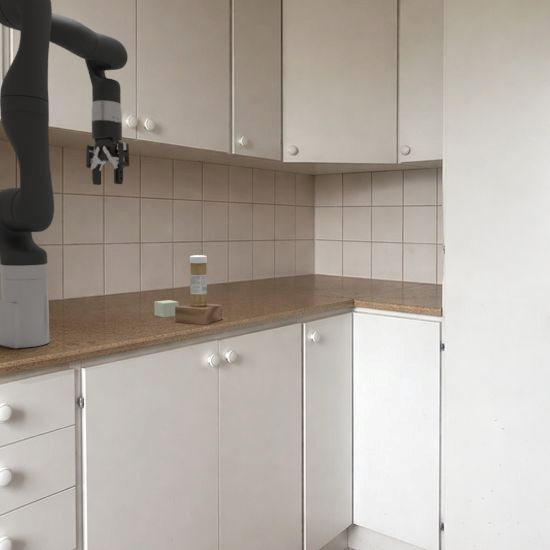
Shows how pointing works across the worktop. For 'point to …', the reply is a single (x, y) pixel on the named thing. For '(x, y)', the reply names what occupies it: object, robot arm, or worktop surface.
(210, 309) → the walnut block
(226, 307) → the worktop surface
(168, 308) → the sage block
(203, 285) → the sprinkles bottle
